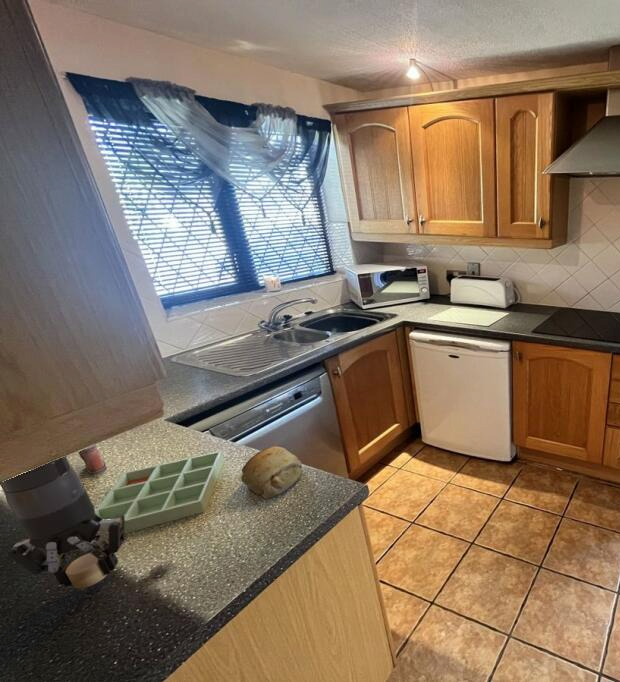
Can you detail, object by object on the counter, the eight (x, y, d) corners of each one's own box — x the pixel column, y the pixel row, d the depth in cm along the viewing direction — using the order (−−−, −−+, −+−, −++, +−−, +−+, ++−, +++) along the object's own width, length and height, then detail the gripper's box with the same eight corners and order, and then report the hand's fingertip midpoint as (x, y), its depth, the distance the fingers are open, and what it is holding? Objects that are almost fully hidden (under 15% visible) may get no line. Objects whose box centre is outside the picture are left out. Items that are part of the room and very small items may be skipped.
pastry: (256, 466, 98) (248, 440, 95) (309, 458, 101) (302, 432, 98) (233, 506, 85) (223, 477, 82) (294, 495, 88) (287, 467, 85)
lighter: (84, 465, 100) (67, 432, 96) (102, 458, 102) (86, 426, 99) (90, 477, 95) (74, 443, 92) (109, 469, 98) (93, 436, 94)
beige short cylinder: (67, 593, 65) (58, 578, 64) (82, 571, 69) (74, 556, 68) (103, 582, 67) (95, 568, 65) (115, 561, 71) (108, 547, 69)
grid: (84, 544, 76) (77, 533, 75) (128, 482, 93) (123, 472, 92) (204, 511, 84) (200, 501, 83) (225, 459, 101) (221, 450, 100)
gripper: (119, 473, 68) (151, 545, 74) (4, 497, 62) (49, 573, 68) (97, 501, 61) (134, 578, 67) (-33, 531, 56) (20, 612, 62)
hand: (91, 575), depth 68 cm, fingers closed on beige short cylinder, 4 cm apart
